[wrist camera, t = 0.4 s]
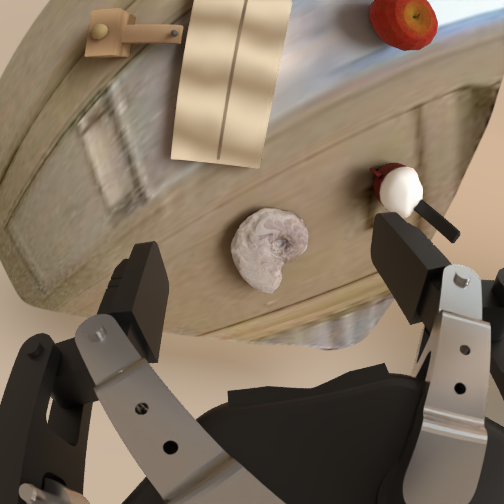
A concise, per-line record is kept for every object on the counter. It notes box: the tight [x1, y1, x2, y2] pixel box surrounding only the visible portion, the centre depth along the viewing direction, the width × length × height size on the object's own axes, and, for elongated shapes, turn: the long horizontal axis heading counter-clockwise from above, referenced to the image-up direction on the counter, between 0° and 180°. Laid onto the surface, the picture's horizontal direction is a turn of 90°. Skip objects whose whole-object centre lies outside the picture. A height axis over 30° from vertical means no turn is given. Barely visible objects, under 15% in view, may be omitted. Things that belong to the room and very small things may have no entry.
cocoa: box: [370, 163, 460, 243], centre depth 34 cm, size 10×6×12 cm, turn 40°
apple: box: [369, 0, 438, 51], centre depth 23 cm, size 8×8×8 cm
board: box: [171, 0, 292, 169], centre depth 29 cm, size 20×10×2 cm, turn 170°
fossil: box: [231, 208, 308, 293], centre depth 41 cm, size 12×4×10 cm
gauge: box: [85, 8, 184, 58], centre depth 23 cm, size 5×9×7 cm, turn 80°
